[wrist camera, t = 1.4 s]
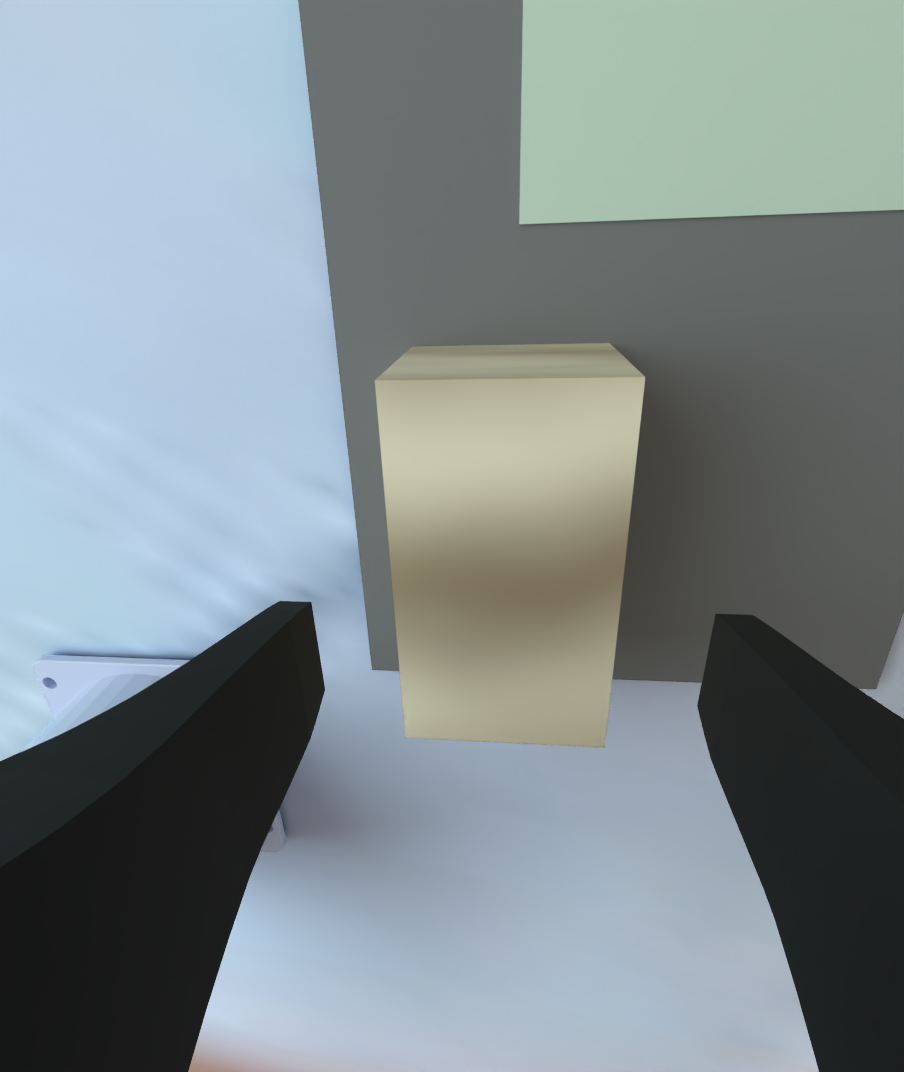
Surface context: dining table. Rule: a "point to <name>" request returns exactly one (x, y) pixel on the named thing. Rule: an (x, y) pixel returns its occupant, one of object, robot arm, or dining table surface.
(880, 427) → the rubber mat
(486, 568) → the maple block
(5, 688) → the dining table surface
